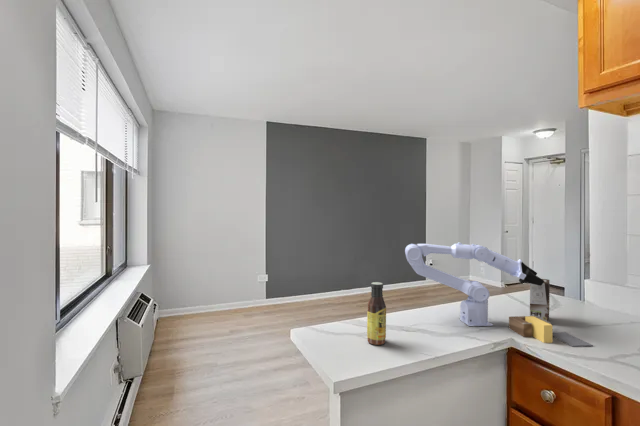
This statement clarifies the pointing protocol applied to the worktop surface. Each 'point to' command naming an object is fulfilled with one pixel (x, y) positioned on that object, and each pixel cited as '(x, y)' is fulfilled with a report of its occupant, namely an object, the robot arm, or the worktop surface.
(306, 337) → the worktop surface
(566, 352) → the worktop surface
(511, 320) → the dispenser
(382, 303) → the sauce bottle
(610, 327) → the worktop surface
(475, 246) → the robot arm
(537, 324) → the yellow bar
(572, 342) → the mat
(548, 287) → the coffee box
